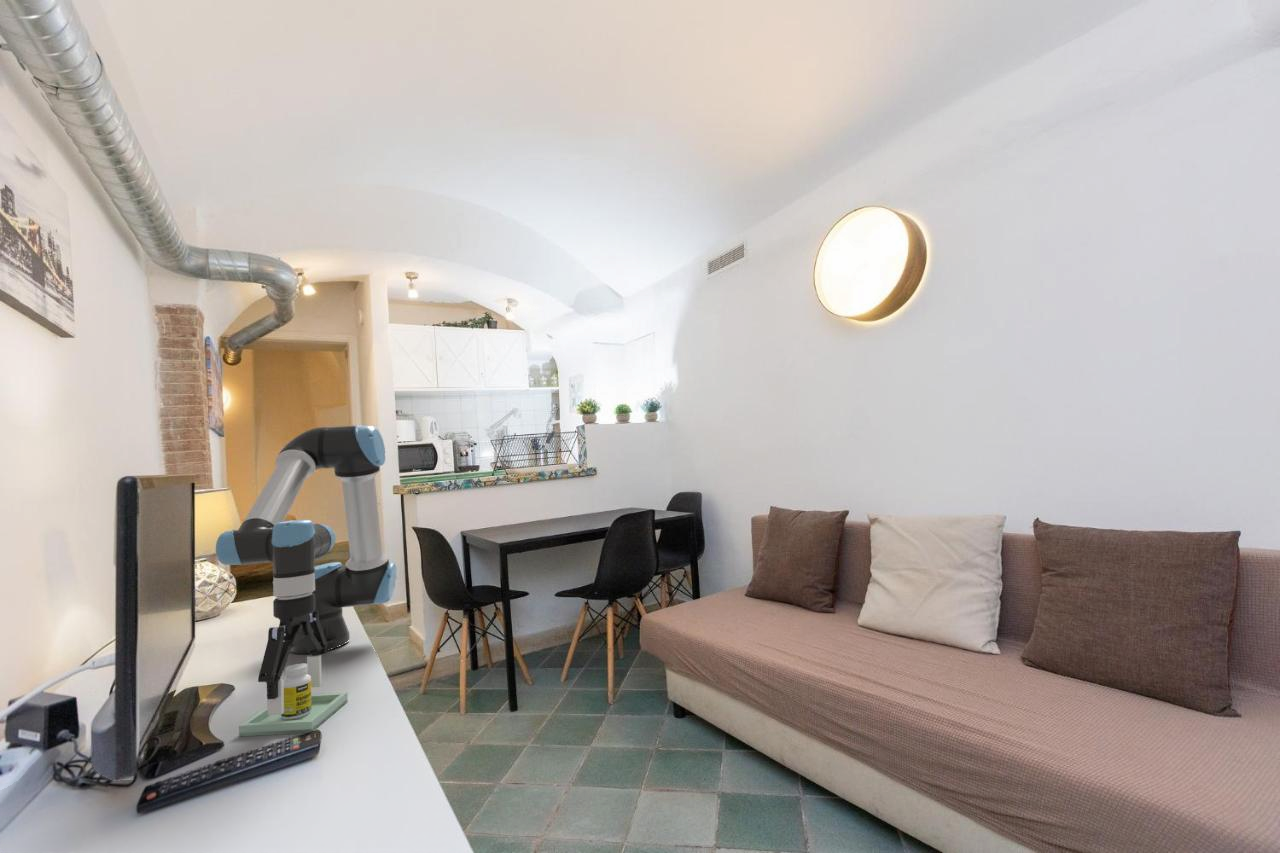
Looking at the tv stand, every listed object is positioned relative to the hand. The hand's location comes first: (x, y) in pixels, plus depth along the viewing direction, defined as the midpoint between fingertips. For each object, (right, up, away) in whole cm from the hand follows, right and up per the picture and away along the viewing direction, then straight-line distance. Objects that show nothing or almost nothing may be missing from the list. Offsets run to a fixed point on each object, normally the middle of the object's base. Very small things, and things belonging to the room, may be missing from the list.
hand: (296, 699), depth 118 cm
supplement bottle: (0, -3, 0) cm, 3 cm away
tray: (0, -4, 0) cm, 4 cm away
